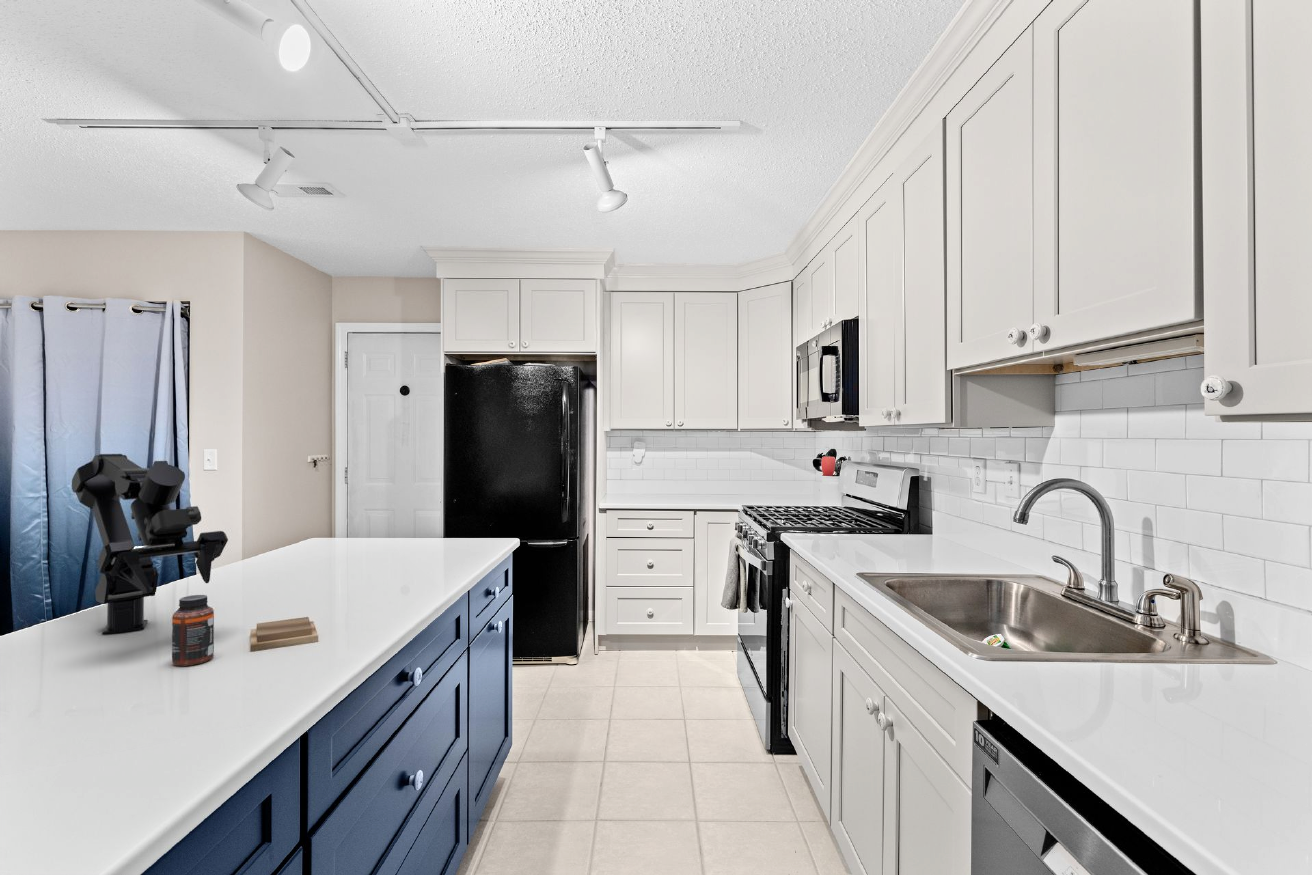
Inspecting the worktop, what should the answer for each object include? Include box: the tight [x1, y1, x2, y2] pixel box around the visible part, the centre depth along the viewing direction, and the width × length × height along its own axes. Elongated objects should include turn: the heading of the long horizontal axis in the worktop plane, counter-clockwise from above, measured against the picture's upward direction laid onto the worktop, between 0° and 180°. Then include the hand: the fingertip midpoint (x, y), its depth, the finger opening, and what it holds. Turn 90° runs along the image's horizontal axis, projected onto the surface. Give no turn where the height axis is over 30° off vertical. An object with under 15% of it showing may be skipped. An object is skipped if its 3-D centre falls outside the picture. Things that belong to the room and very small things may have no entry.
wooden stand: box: [250, 616, 319, 653], centre depth 123 cm, size 11×11×2 cm
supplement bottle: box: [171, 594, 215, 667], centre depth 110 cm, size 6×6×11 cm
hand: (178, 586), depth 114 cm, fingers open, 9 cm apart
